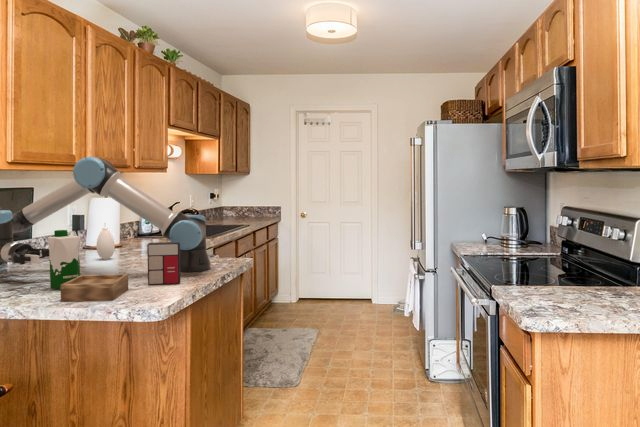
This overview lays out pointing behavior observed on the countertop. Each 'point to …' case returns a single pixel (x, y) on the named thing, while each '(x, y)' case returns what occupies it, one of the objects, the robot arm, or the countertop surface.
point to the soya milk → (63, 258)
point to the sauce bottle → (105, 244)
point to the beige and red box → (163, 263)
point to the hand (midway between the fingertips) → (57, 256)
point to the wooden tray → (94, 288)
